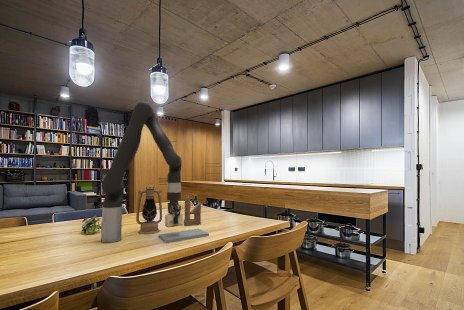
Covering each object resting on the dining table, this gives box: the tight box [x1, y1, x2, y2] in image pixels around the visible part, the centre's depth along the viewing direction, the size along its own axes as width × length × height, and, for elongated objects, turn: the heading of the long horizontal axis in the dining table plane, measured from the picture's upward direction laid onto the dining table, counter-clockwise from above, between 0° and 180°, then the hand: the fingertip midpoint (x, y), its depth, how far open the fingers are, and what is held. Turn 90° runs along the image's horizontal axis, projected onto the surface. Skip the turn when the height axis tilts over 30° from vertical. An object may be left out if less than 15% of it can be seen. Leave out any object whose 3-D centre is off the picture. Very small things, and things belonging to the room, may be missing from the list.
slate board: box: [157, 228, 210, 244], centre depth 133 cm, size 24×13×2 cm, turn 124°
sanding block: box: [164, 212, 184, 229], centre depth 131 cm, size 8×5×6 cm, turn 124°
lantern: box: [135, 184, 163, 235], centre depth 144 cm, size 14×12×30 cm
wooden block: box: [183, 197, 202, 227], centre depth 163 cm, size 4×11×18 cm, turn 119°
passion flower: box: [80, 215, 101, 236], centre depth 142 cm, size 11×11×12 cm
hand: (173, 222), depth 130 cm, fingers closed on sanding block, 5 cm apart
